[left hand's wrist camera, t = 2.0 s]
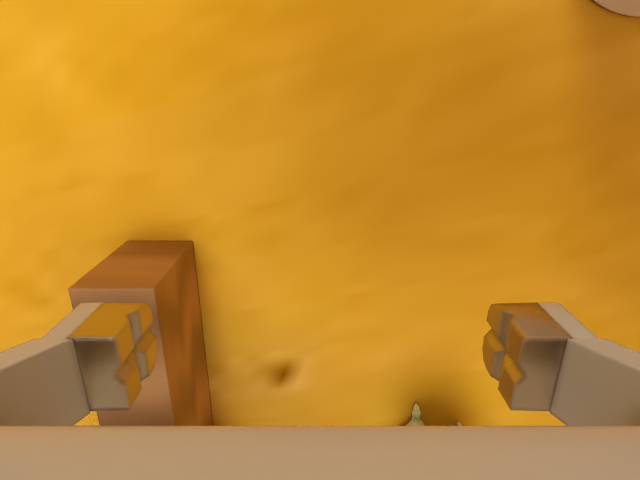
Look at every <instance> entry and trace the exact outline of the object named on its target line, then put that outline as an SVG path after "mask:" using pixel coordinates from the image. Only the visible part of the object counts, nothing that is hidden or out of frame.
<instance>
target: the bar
mask: <svg viewBox="0 0 640 480" xmlns="http://www.w3.org/2000/svg"><path fill="white" fill-rule="evenodd" d="M68 290H69V294H70V298H71V303H72V307H73V310H74V309H75V308H76V307H77V306H78V305H79V304H80V303H97V302H104V303H144V304H148V305H149V306H150V307H151V311H152V316H153V322H152V323H151V325H150V326H149V328H148V329H149V330H150V331H151V332H152V333H153V334H154V335H155V336H156V340H157V358H156V362H155V366H154V369H153V370H152V372H151V374H150V376H148V377H147V378H145V379H144V380H142V381H141V387H142V390H141V391H140V393H139V395H138V396H137V398H136V400H135V401H134V403H133V405H132V406H131V408H130V410H111V411H97V416H98V420H99V424H100V426H213V420H212V411H211V402H210V393H209V384H208V375H207V366H206V357H205V348H204V339H203V330H202V320H201V311H200V302H199V293H198V284H197V275H196V266H195V257H194V248H193V241H126V242H125V243H124V244H123V245H122V246H120V247H119V248H118V249H117V250H115V251H114V252H113V253H112V254H110V255H109V256H108V257H107V258H105V259H104V260H103V261H102V262H101V263H99V264H98V265H97V266H96V267H94V268H93V269H92V270H91V271H89V272H88V273H87V274H86V275H84V276H83V277H82V278H81V279H80V280H78V281H77V282H76V283H75V284H73V285H72V286H71V287H70V288H69V289H68Z"/></svg>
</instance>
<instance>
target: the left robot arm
mask: <svg viewBox="0 0 640 480" xmlns="http://www.w3.org/2000/svg"><path fill="white" fill-rule="evenodd" d="M594 1H595V2H596V3H598V4H599V5H601V6H602V7H604V8H606V9H608V10H610V11H613V12H615V13H619V14H622V15H627V16H634V17H640V0H594ZM152 322H153V316H152V311H151V307H150V306H149V305H148V304H144V303H104V302H97V303H80V304H79V305H78V306H77V307H76V308H75V309H74V310H72V311H71V312H70V313H69V314H68V315H67V316H66V317H65V318H64V319H62V320H61V321H60V322H59V323H58V324H57V325H56V326H55V327H54V328H52V329H51V330H50V331H49V332H48V333H47V334H46V335H45V336H44V337H42V338H41V339H32V340H30V341H27V342H25V343H22V344H20V345H17V346H15V347H12V348H10V349H7V350H5V351H2V352H0V480H640V352H638V351H635V350H633V349H630V348H628V347H625V346H623V345H620V344H618V343H615V342H613V341H610V340H608V339H599V338H598V337H596V336H595V335H594V334H593V333H592V332H591V331H590V330H589V329H588V328H586V327H585V326H584V325H583V324H582V323H581V322H580V321H579V320H578V319H577V318H575V317H574V316H573V315H572V314H571V313H570V312H569V311H568V310H567V309H565V308H564V307H563V306H562V305H561V304H559V303H556V302H549V303H503V304H492V305H491V306H490V308H489V310H488V315H487V322H488V323H489V325H490V326H491V328H492V329H491V330H490V331H489V332H488V333H487V334H486V335H485V336H484V341H483V358H484V363H485V366H486V369H487V371H488V372H489V374H490V376H492V377H493V378H495V379H496V380H498V381H499V387H498V390H499V391H500V393H501V395H502V396H503V398H504V400H505V401H506V403H507V405H508V406H509V408H510V410H528V411H550V413H551V414H552V415H554V416H555V417H556V418H558V419H559V420H560V421H562V422H563V423H564V424H566V425H567V426H73V425H74V424H76V423H77V422H78V421H80V420H81V419H82V418H84V417H85V416H87V415H88V414H89V413H90V411H111V410H130V408H131V406H132V405H133V403H134V401H135V400H136V398H137V396H138V395H139V393H140V391H141V390H142V387H141V381H142V380H144V379H145V378H147V377H148V376H150V374H151V372H152V370H153V369H154V366H155V362H156V358H157V340H156V336H155V335H154V334H153V333H152V332H151V331H150V330H149V329H148V328H149V326H150V325H151V323H152Z"/></svg>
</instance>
